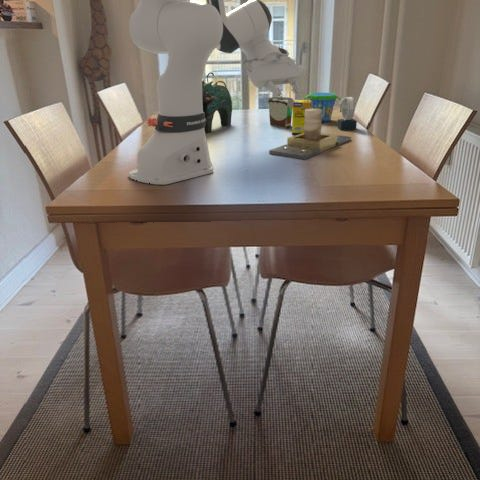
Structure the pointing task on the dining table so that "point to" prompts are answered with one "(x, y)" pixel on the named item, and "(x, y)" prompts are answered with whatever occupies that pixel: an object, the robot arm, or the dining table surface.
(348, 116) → the watch
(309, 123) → the hinge pin
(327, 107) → the snack cup
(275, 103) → the food container
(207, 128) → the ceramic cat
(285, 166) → the dining table surface
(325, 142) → the hinge
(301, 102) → the supplement box
